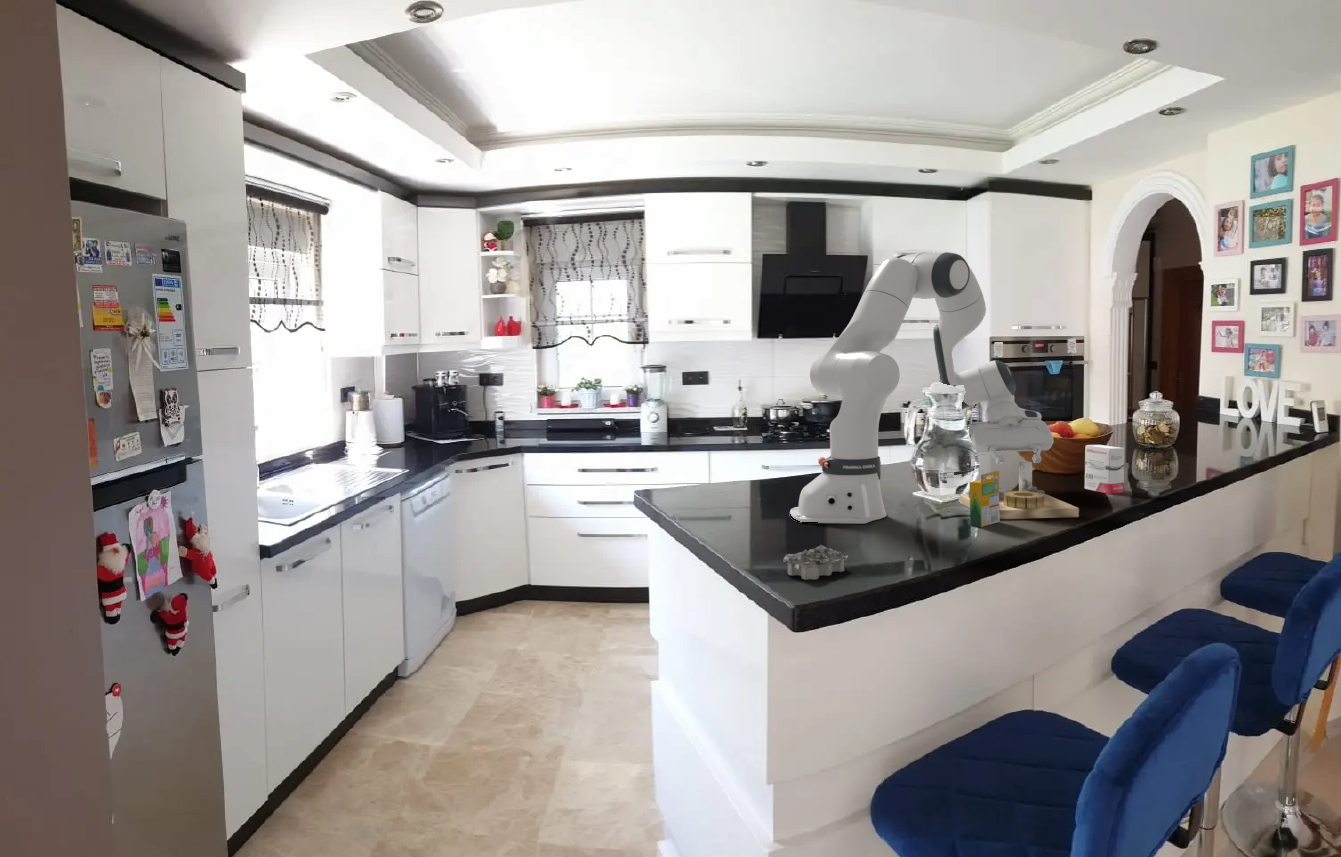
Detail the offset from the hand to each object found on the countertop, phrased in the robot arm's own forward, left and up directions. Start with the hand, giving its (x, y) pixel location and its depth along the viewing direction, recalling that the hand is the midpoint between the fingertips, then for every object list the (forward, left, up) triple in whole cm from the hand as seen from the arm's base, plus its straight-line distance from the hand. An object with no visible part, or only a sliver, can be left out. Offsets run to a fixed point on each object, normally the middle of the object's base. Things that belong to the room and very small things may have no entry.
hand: (1019, 462), depth 195 cm
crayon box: (-20, -32, -9) cm, 39 cm away
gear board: (-8, -18, -8) cm, 21 cm away
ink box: (+22, +1, -9) cm, 24 cm away
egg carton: (-61, -64, -9) cm, 89 cm away
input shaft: (0, -4, -8) cm, 9 cm away
